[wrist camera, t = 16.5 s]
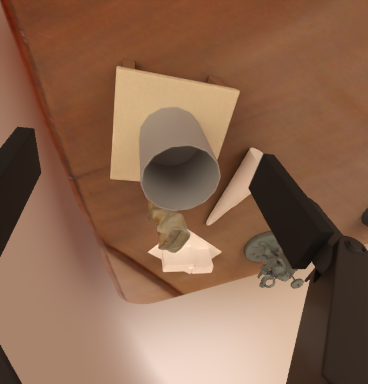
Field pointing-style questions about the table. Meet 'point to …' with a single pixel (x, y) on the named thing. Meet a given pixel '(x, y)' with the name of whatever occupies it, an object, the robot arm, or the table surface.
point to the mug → (365, 218)
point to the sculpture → (169, 228)
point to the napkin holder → (188, 256)
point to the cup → (176, 160)
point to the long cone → (237, 185)
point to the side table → (163, 98)
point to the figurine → (270, 259)
